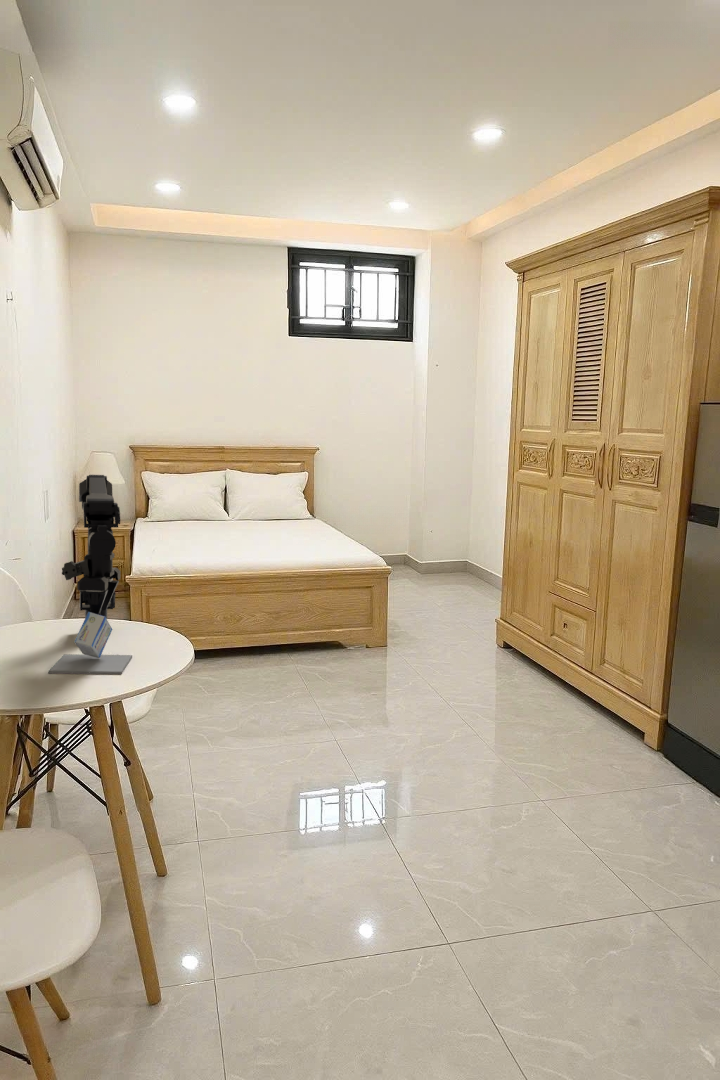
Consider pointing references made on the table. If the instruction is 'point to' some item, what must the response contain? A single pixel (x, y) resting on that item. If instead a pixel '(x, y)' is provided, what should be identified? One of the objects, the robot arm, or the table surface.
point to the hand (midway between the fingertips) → (99, 613)
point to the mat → (90, 664)
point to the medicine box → (93, 635)
